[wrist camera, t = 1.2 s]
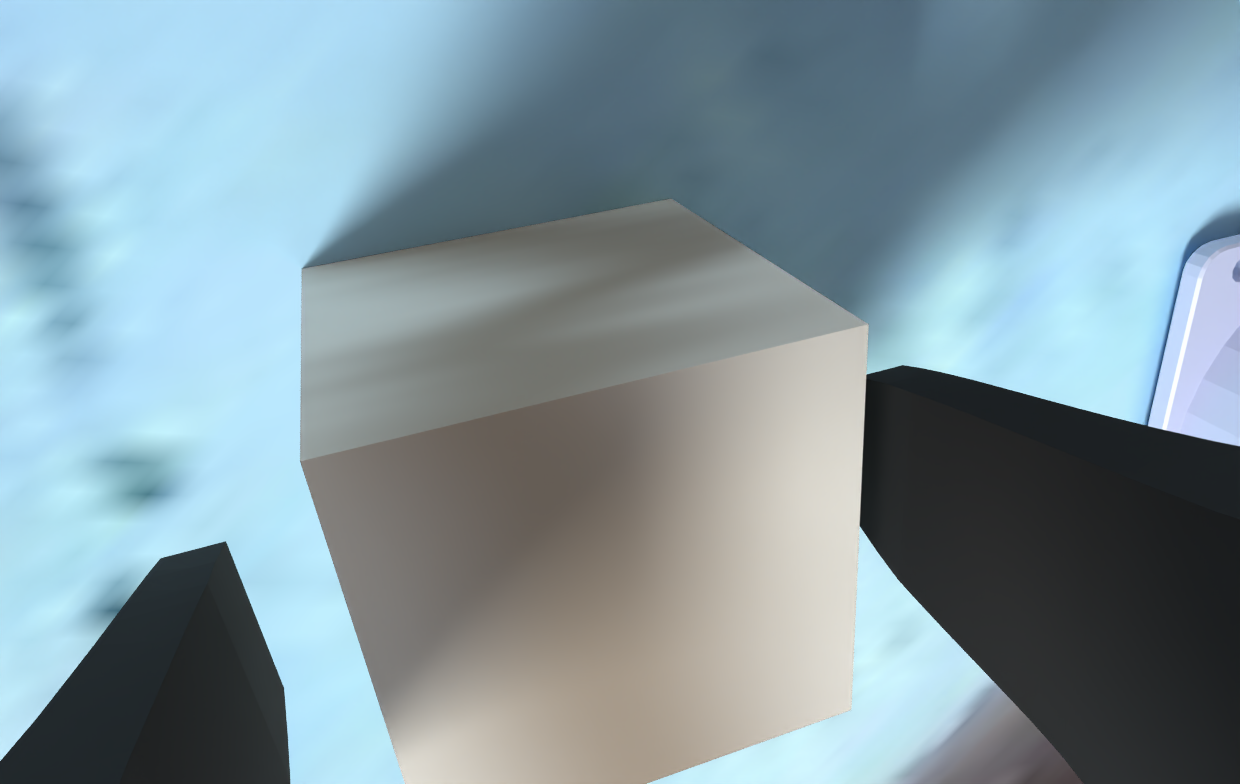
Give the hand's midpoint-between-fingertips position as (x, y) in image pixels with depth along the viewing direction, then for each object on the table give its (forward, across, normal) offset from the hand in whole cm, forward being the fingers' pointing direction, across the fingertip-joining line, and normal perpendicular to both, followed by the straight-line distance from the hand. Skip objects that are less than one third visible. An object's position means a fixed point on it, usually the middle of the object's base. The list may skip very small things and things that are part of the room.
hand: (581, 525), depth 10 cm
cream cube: (+3, 0, 0) cm, 4 cm away
